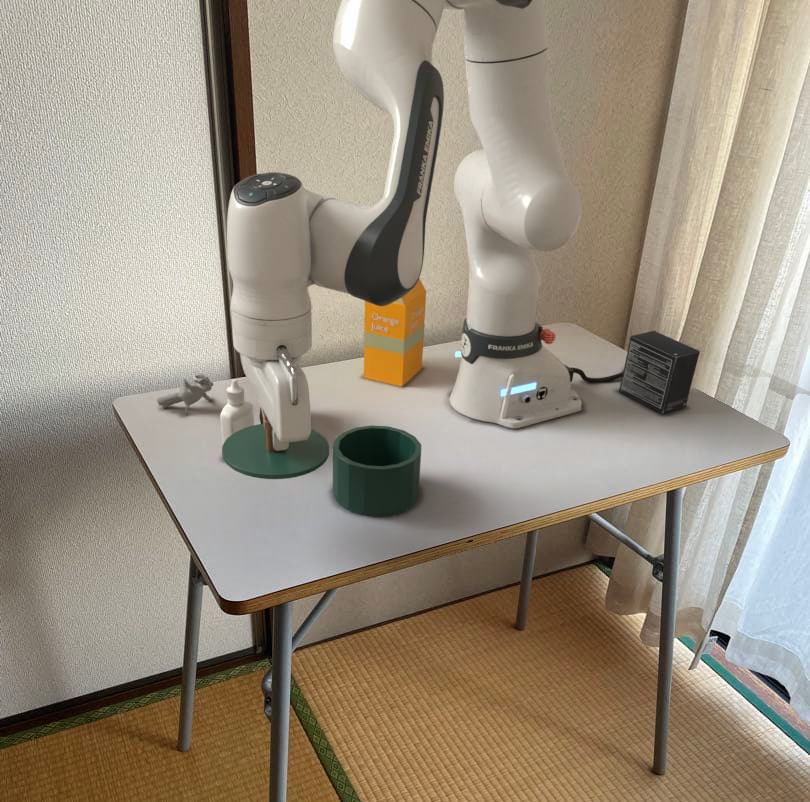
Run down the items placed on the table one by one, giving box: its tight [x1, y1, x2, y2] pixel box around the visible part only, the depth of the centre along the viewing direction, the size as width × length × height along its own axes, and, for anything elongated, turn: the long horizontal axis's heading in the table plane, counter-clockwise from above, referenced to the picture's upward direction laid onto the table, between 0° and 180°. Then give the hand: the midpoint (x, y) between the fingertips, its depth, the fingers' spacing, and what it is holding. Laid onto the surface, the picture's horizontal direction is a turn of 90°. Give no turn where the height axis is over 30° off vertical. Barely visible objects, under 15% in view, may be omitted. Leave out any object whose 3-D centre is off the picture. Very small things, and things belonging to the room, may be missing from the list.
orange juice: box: [363, 277, 427, 387], centre depth 150 cm, size 8×9×20 cm
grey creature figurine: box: [156, 371, 214, 415], centre depth 139 cm, size 10×6×9 cm
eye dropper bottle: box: [219, 378, 255, 446], centre depth 126 cm, size 4×6×12 cm
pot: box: [332, 424, 422, 517], centre depth 121 cm, size 12×12×8 cm
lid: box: [221, 416, 330, 480], centre depth 105 cm, size 13×13×5 cm
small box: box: [618, 330, 701, 415], centre depth 148 cm, size 11×6×10 cm, turn 34°
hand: (276, 439), depth 105 cm, fingers closed on lid, 2 cm apart
